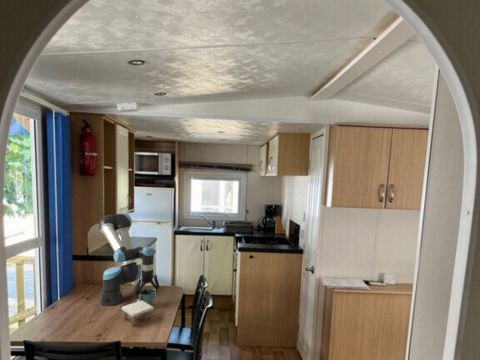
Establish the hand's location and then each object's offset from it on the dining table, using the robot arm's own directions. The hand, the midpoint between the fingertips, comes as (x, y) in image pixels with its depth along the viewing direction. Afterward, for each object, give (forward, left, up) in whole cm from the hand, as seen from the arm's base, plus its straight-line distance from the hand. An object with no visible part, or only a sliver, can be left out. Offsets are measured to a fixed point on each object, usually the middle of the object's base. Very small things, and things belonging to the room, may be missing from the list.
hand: (146, 300), depth 197 cm
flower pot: (0, 0, -3) cm, 3 cm away
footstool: (+12, -13, -5) cm, 18 cm away
